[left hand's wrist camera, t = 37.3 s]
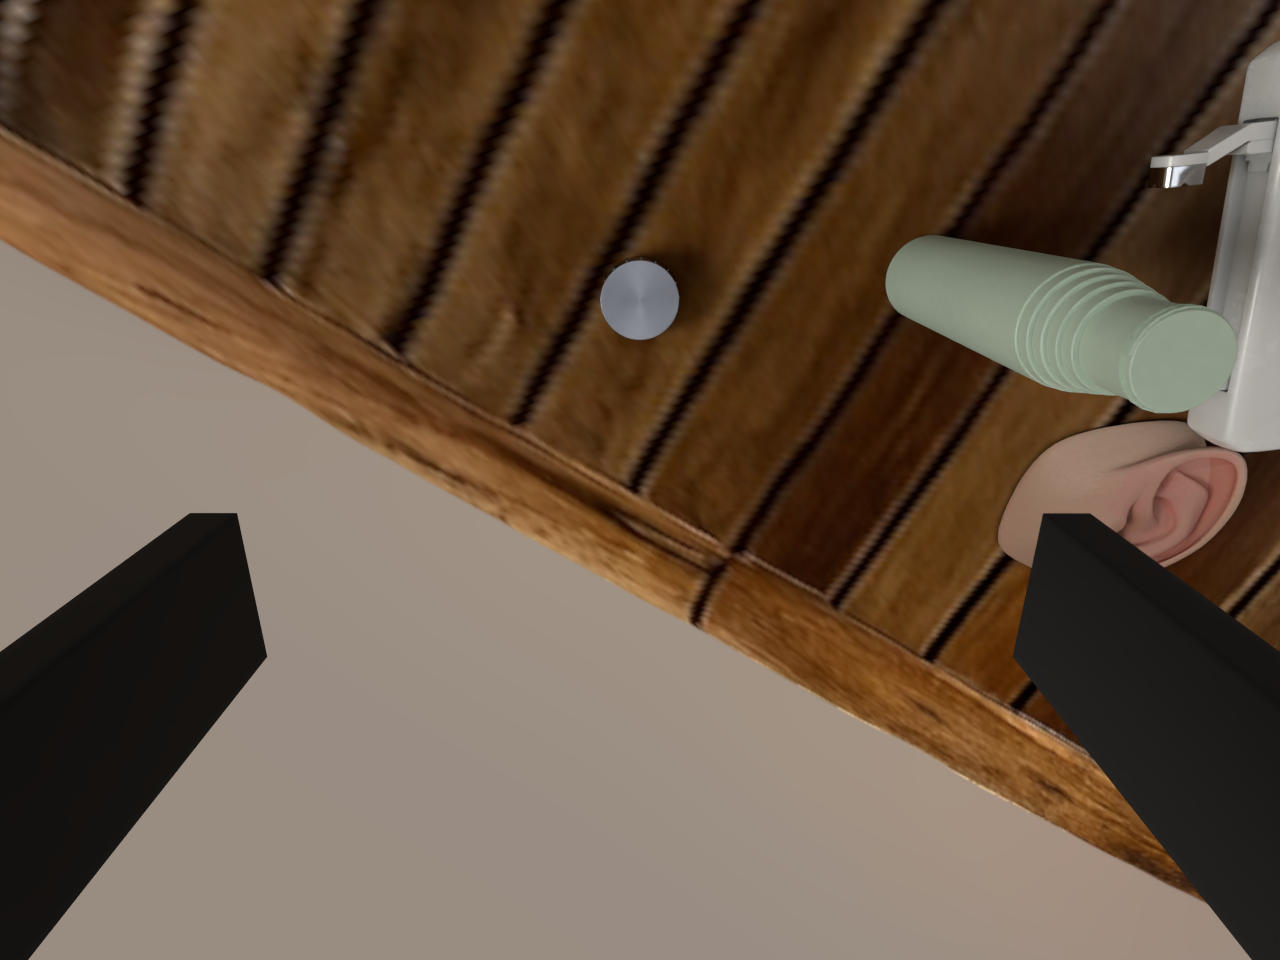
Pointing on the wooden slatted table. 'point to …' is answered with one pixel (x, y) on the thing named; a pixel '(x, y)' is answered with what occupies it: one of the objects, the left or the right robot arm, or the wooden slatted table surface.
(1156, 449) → the anatomical model
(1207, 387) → the bottle
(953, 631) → the wooden slatted table surface
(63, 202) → the wooden slatted table surface
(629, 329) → the cap
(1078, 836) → the wooden slatted table surface
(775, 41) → the wooden slatted table surface
